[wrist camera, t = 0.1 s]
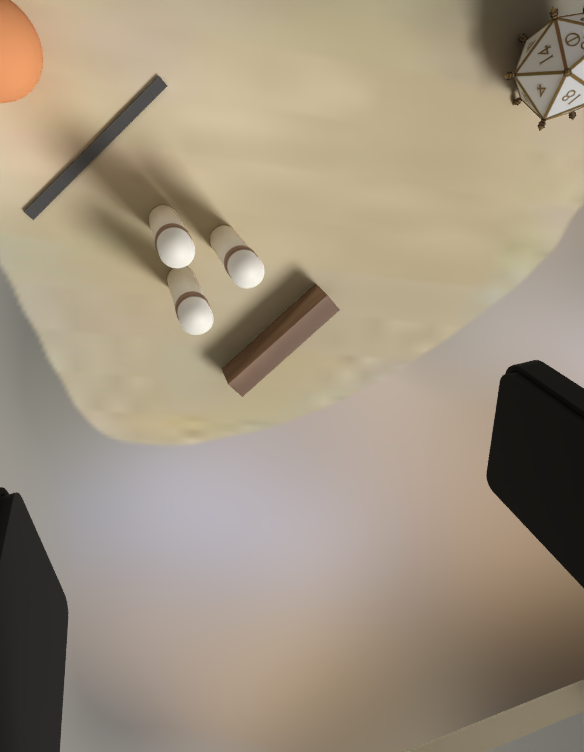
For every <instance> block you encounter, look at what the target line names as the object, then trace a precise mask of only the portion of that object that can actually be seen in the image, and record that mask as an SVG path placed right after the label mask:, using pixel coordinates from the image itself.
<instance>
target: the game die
mask: <svg viewBox="0 0 584 752" xmlns="http://www.w3.org/2000/svg"><path fill="white" fill-rule="evenodd" d="M557 11H558V9H556V8H555V7H552V10H551V12H550V14H551V15H550V16H551V17H552V20H551V21H549V22H548V23H547V24H546V25H544V26H543V27H542V28H541V29H539V30H538V31H537V32H536V33H534V34H533V35H532V36H530V37H529V38H527V36H526V35H525V34H521V35H519V41H521V42H525V44H524V47H523V50H522V52H521V55H520V58H519V61H518V64H517V66H516V69H515V72H514V73H512V72H507V74H506V75H505V76H503V77H504V78H506V79H507V80H508V79H512V78H514V79H515V82H516V86H517V89H518V92H519V96H520V98H516V99H515V100H514V103H513V105H518V104H520V103H521V101H523V102H524V103H525V104H526V105H527V106H528V107H529V108H530V109H531V110H532V111H533V112H534V113H535V114H536V115H537V116H538V117H539V118H541V121H540V122H539V125H538V128H539V131H540V130H542V129H543V128H545V127H544V126H545V121H546V120H549V119H552V118H555V117H558V116H561V115H564V114H568V113H569V118H571V119H572V120H573V119H574V118H575V116H576V113H575V112H574V111H575V110H578V109H580V108H582V107H584V8H583V13H579V14H573V15H566V16H560V17H557V15H558V12H557Z"/></svg>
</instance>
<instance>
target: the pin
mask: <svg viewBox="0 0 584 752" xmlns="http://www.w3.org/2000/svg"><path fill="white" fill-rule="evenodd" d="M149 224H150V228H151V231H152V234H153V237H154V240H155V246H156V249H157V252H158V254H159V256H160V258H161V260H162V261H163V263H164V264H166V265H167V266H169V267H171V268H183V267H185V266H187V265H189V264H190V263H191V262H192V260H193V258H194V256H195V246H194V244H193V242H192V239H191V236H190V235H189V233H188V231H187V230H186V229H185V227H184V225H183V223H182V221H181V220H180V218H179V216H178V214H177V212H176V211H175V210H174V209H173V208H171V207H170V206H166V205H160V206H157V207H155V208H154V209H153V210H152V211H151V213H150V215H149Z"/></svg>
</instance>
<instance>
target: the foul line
mask: <svg viewBox="0 0 584 752" xmlns="http://www.w3.org/2000/svg"><path fill="white" fill-rule="evenodd" d="M166 87H167V85H166V84H165V83H164V81H163V80H162V79H161V78H160V77H158V78H157V79H156V80H155V81H154V82H153V83H152V84H151V85H150V86H149V87H148V88H147V89H146V90H145V91H144V92H143V93H142V94H141V95H140V96H139V97H138V98H137V99H136V100H135V101H134V102H133V103H132V104H131V105H130V106H129V107H128V108H127V109H126V110H125V111H124V112H123V113H122V114H121V115H120V116H119V117H118V118H117V119H116V120H115V121H114V122H113V123H112V124H111V125H110V126H109V127H108V128H107V129H106V130H105V131H104V132H103V133H102V134H101V135H100V136H99V137H98V138H97V139H96V140H95V141H94V142H93V143H92V144H91V145H90V146H89V147H88V148H87V149H86V150H85V151H84V152H83V153H82V154H81V155H80V156H79V157H78V158H77V159H76V160H75V161H74V162H73V163H72V164H71V165H70V166H69V167H68V168H67V169H66V170H65V171H64V172H63V173H62V174H61V175H60V176H59V177H58V178H57V179H56V180H55V181H54V182H53V183H52V184H51V185H50V186H49V187H48V188H47V189H46V190H45V191H44V192H43V193H42V194H41V195H40V196H39V197H38V198H37V199H36V200H35V201H34V202H33V203H32V204H31V205H30V206H29V207H28V208H27V209H26V210H25V211H24V212H25V213H26V214H27V215H28V216H29V217H30V218H32V219H33V220H34V219H35V218H36V217H37V216H38V215H39V214H40V213H41V212H42V211H43V210H44V209H45V208H46V207H47V206H48V205H49V204H50V203H51V202H52V201H53V200H54V199H55V198H56V197H57V196H58V195H59V194H60V193H61V192H62V191H63V190H64V189H65V188H66V187H67V186H68V185H69V184H70V183H71V182H72V181H73V180H74V179H75V178H76V177H77V176H78V175H79V174H80V173H81V172H82V171H83V170H84V169H85V168H86V167H87V166H88V165H89V164H90V163H91V162H92V161H93V160H94V159H95V158H96V157H97V156H98V155H99V154H100V153H101V152H102V151H103V150H104V149H105V148H106V147H107V146H108V145H109V144H110V143H111V142H112V141H113V140H114V139H115V138H116V137H117V136H118V135H119V134H120V133H121V132H122V131H123V130H124V129H125V128H126V127H127V126H128V125H129V124H130V123H131V122H132V121H133V120H134V119H135V118H136V117H137V116H138V115H139V114H140V113H141V112H142V111H143V110H144V109H145V108H146V107H147V106H148V105H149V104H150V103H151V102H152V101H153V100H154V99H155V98H156V97H157V96H158V95H159V94H160V93H161V92H162V91H163V90H164V89H165V88H166Z"/></svg>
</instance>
